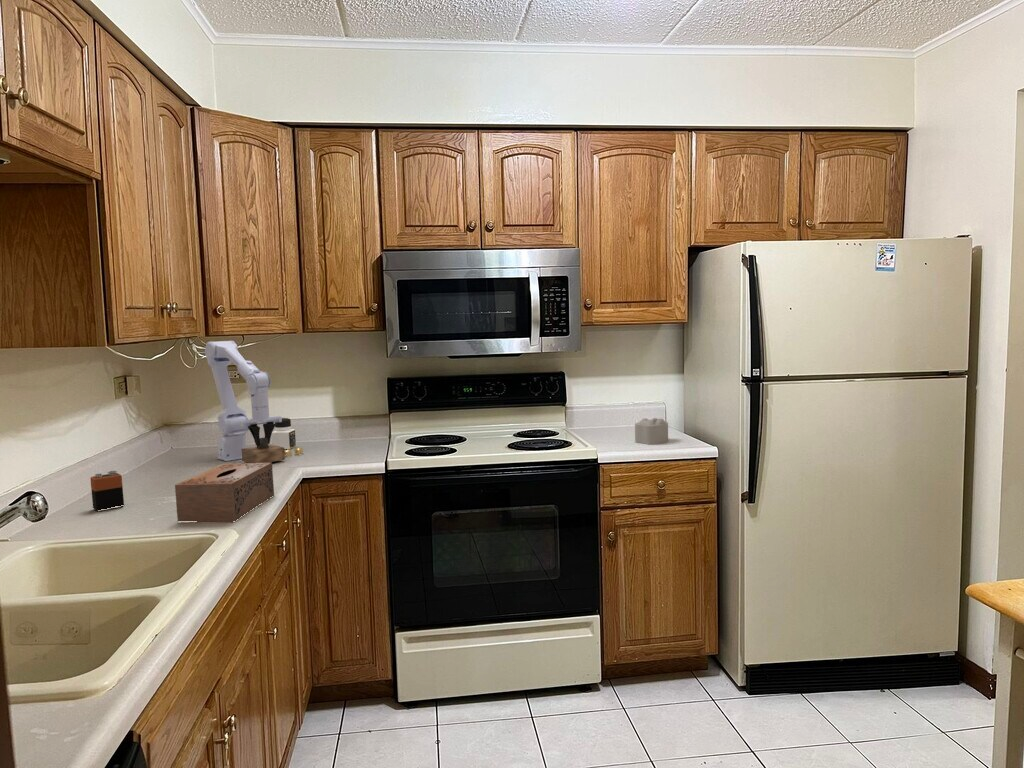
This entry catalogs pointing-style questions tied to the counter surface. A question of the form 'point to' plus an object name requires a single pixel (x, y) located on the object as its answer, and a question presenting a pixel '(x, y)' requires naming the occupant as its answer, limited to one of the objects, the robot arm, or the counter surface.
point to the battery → (107, 490)
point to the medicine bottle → (284, 434)
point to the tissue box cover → (224, 492)
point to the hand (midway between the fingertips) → (262, 444)
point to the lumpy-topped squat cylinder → (651, 431)
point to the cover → (263, 453)
